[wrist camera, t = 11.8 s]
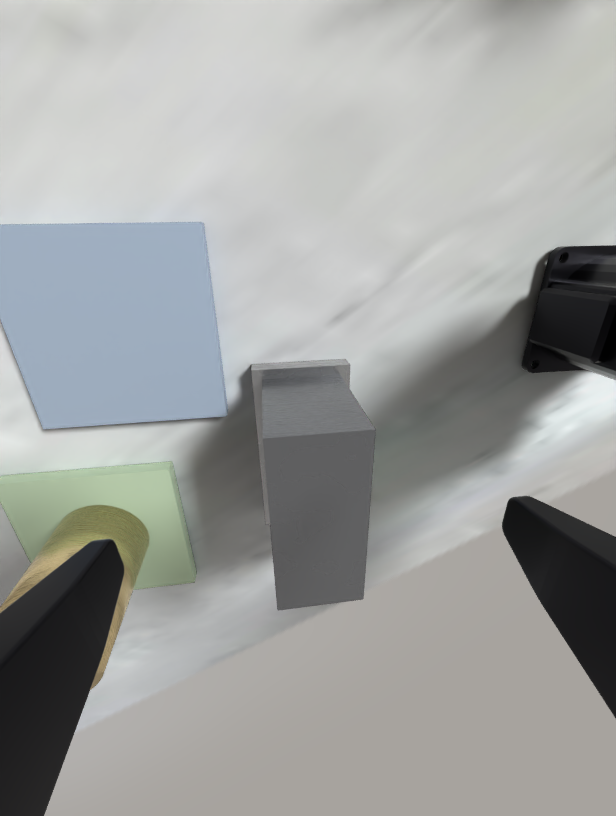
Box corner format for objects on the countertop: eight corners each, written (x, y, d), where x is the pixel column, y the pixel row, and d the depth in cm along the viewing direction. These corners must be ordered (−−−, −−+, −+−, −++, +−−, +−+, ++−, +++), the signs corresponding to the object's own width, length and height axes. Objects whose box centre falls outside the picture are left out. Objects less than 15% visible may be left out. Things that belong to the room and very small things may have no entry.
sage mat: (172, 461, 20) (168, 469, 19) (196, 572, 23) (194, 582, 23) (1, 475, 19) (-9, 484, 18) (56, 588, 22) (49, 599, 22)
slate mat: (203, 223, 15) (201, 222, 14) (227, 409, 19) (226, 416, 18) (-22, 226, 14) (-37, 225, 13) (52, 422, 18) (43, 429, 17)
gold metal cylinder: (138, 499, 19) (83, 620, 13) (157, 562, 22) (118, 691, 15) (43, 511, 19) (-61, 641, 13) (73, 574, 21) (-4, 712, 15)
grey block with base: (345, 358, 18) (390, 415, 12) (341, 505, 23) (373, 605, 16) (251, 364, 18) (246, 426, 12) (265, 513, 22) (267, 619, 16)
